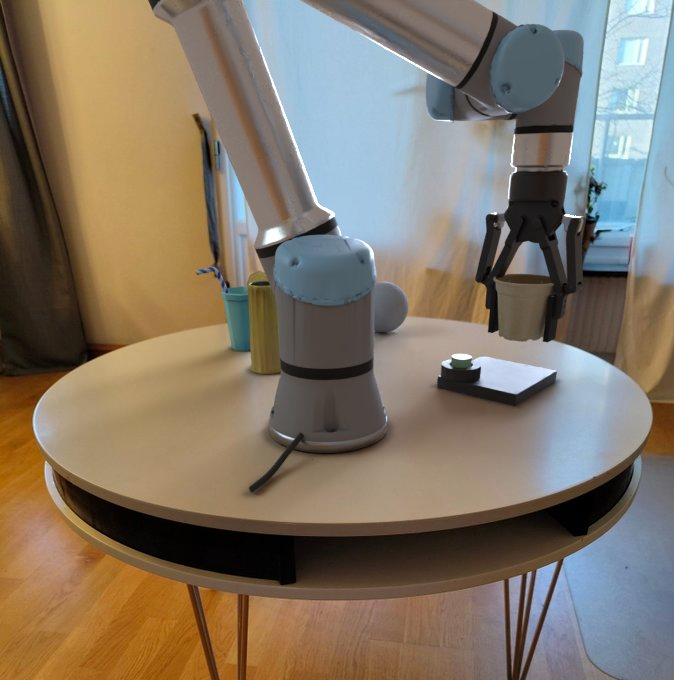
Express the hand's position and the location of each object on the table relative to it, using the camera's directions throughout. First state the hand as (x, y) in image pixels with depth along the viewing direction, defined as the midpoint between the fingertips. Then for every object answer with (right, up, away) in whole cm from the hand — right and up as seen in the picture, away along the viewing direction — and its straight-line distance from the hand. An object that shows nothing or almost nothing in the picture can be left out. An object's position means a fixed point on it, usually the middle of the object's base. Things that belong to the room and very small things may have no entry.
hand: (520, 335), depth 92 cm
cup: (-46, +2, +24) cm, 52 cm away
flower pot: (0, 0, 0) cm, 0 cm away
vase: (-39, -4, +11) cm, 41 cm away
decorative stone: (-18, +7, +33) cm, 39 cm away
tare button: (-9, -5, +1) cm, 10 cm away
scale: (-3, -7, +3) cm, 8 cm away
